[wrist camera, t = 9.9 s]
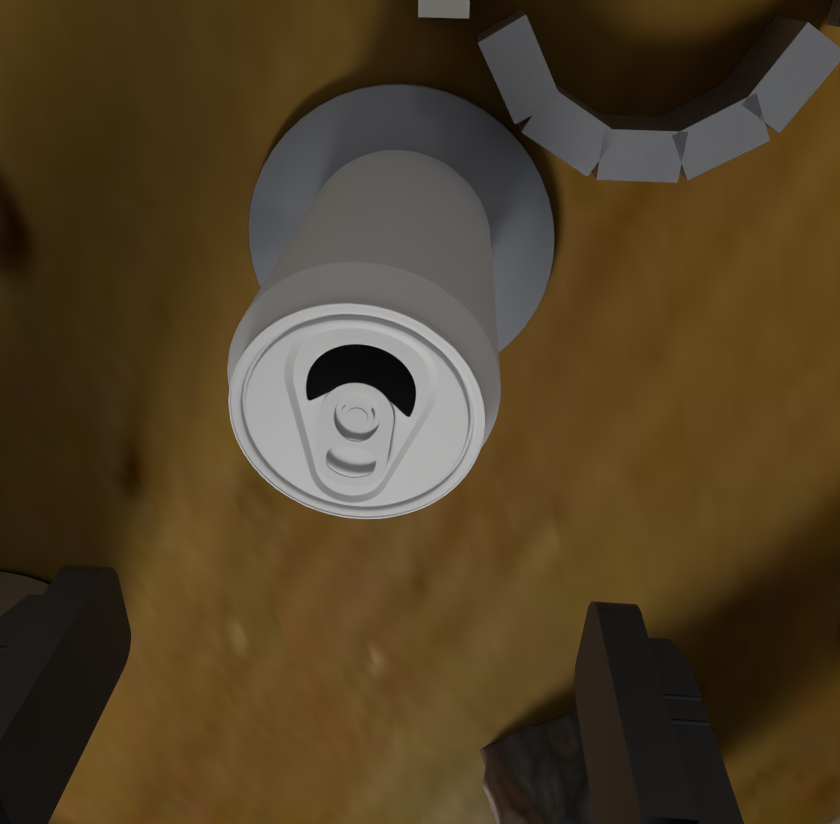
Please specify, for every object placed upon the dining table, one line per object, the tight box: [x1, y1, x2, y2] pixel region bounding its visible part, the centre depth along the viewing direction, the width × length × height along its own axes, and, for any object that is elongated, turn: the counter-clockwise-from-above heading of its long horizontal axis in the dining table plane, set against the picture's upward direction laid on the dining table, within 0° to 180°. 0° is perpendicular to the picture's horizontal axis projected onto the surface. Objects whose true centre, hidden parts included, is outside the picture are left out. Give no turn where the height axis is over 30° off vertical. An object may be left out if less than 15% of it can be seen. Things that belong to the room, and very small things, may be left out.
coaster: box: [249, 83, 555, 352], centre depth 26 cm, size 11×11×1 cm
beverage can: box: [227, 150, 501, 519], centre depth 21 cm, size 6×6×12 cm
